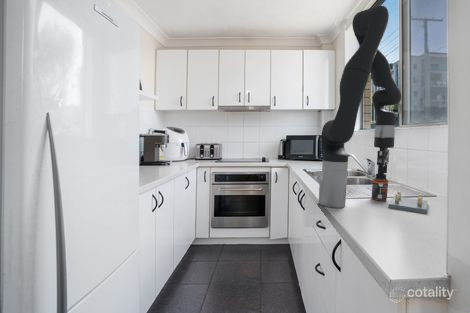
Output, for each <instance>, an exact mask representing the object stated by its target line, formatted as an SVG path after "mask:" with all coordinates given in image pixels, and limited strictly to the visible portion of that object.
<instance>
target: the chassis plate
mask: <svg viewBox="0 0 470 313" xmlns="http://www.w3.org/2000/svg"><path fill="white" fill-rule="evenodd" d="M417 195H418V197H417V198H412V197H411V198H410V197H409V198H408V197H403V196H402V192H401V191H397V194H395V195H393V197H392V198H391V200H390V201H389V203H388V209H393V210H394V209H395V210H401V211H407V212H415V213H419V214H427V210H428V209H427V208H428V200H425V199H424V198H423V196H424V195H423V194H422V193H421V194H417Z"/></svg>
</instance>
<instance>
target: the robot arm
mask: <svg viewBox="0 0 470 313" xmlns="http://www.w3.org/2000/svg"><path fill="white" fill-rule="evenodd" d="M389 16H390V15H389V10H388V8H387V7H386V6H385V5H376V6H373V7H371V8H367V9H364V10H361V11H359V12H357V13H356V14H355V15H354V16H353V19H352V25H351V26H352V31H353V33H354V36H355V38H356V40H357V42H358V45H359V47H358V49H357V50H356V51H355V53H354V54H353V55H352V56H351V57H350V58H349V60H348V61H347V62H346V64H345V66H344V68H343V71H342V74H341V78H340V80H339V103H338V104H339V106H338V109H337V112H336V114H335V117H334V119H331V120H328V121H327V122H325V123H324V125H323V126H322V129H321V130H322V131H321V138H320V139H321V143H320V145H321V146H320V147H321V149H320V150H321V155H322V165H321V167H322V168H321V179H320V180H319V187H318V205H321V206H324V207H327V208H337V209H340V208H342V209H343V208H345V207H346V201H347V200H346V199H347V186H348V184H347V182H348V167H349V155H348V153H347V152H346V149H345V144H346V143H348V142H349V141H350V140H351V139H352V137H353V135H354V132H355V127H356V123H357V118H358V113H359V109H360V105H361V102H362V99H363V95H364V94H365V90H366V87H367V84H368V81H369V78H370V76H371V80H372V83H373V85H374V86H375V87H377V88H382V89H377V90H375V91H374V92H373V94H372V96H371V97H372V98H371V100H372V104H373V108H374V111H375V112H374V113H375V129H374V138H373V139H374V140H373V148H379V150H377V154H376V155H377V157H376V159H377V160H376V166H377V173H378V175H381V176H383V175H384V174H387V172H388V165H389V162H390V160H389V159H390V149H394V147H395V139H396V138H395V135H396V129H395V125H396V122H395V121H396V114H395V112H394V111H391V110H385V107H386V106H387V107H388V106H396V105H398V104H399V103H400V102H401V100H402V92H401V90H400V88H399V87H398V85H397V83H396V82H395V80H394V78H393V75H392V74H393V73H392V70H391V66H390V63H389V61H388V59H387V58H386V56H385V54H383V52H382V51H381V50H380V49H379V47H380V44H381V42H382V39H383V37H384V34H385V32H386V30H387V28H388V24H389V20H390V19H389Z"/></svg>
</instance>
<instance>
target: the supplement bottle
mask: <svg viewBox="0 0 470 313" xmlns="http://www.w3.org/2000/svg"><path fill="white" fill-rule="evenodd" d="M371 187H372V188H371V199H372V200H374V201H377V202H378V201H379V202H386V201H387V200H388V188H389V180H388V179H387V173H384V175H383V176H381V175H378V172H376V173H375V177H374V178H373V179H372V186H371Z"/></svg>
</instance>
